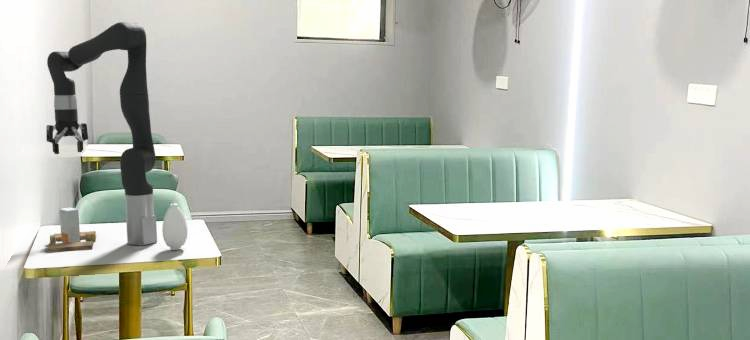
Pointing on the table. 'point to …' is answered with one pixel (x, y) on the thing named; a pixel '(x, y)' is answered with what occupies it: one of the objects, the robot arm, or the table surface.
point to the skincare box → (69, 225)
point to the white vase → (174, 227)
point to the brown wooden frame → (72, 245)
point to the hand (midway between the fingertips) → (68, 153)
